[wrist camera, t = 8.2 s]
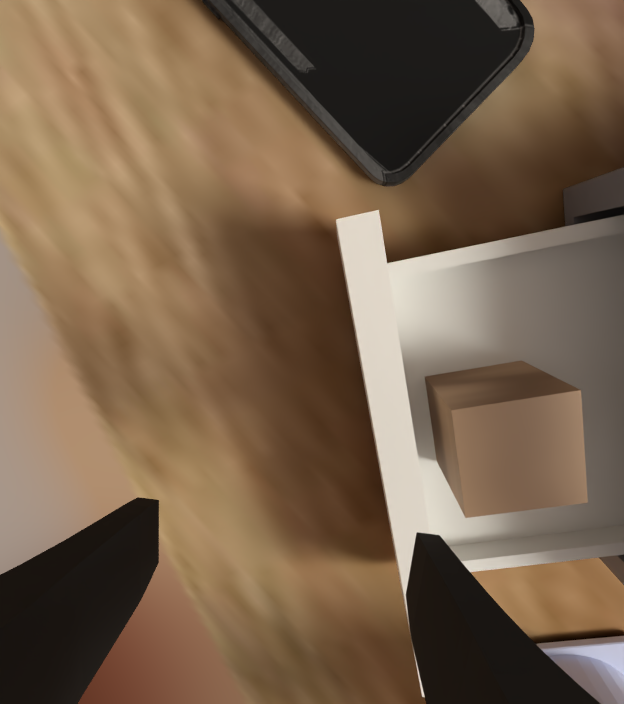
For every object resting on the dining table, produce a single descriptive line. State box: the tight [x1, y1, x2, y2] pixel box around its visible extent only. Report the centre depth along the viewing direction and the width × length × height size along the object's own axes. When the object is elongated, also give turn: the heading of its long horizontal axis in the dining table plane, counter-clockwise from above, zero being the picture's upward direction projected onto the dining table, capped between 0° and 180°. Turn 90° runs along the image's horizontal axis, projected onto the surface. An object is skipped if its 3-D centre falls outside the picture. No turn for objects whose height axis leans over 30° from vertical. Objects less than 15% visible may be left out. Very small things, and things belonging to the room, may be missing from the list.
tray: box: [336, 210, 624, 697], centre depth 14 cm, size 16×17×5 cm
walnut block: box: [425, 361, 588, 518], centre depth 15 cm, size 4×4×4 cm
